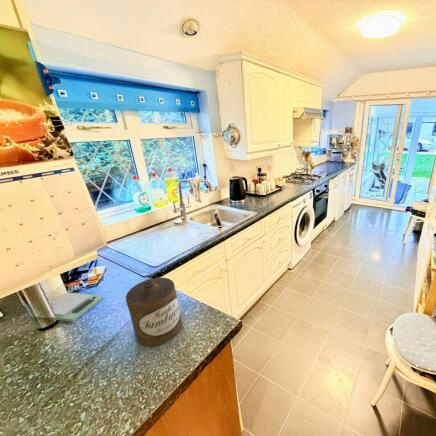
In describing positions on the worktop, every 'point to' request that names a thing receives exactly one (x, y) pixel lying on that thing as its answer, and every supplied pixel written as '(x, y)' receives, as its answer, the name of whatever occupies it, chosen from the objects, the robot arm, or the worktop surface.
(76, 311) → the kitchen scale
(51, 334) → the worktop surface
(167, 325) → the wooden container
